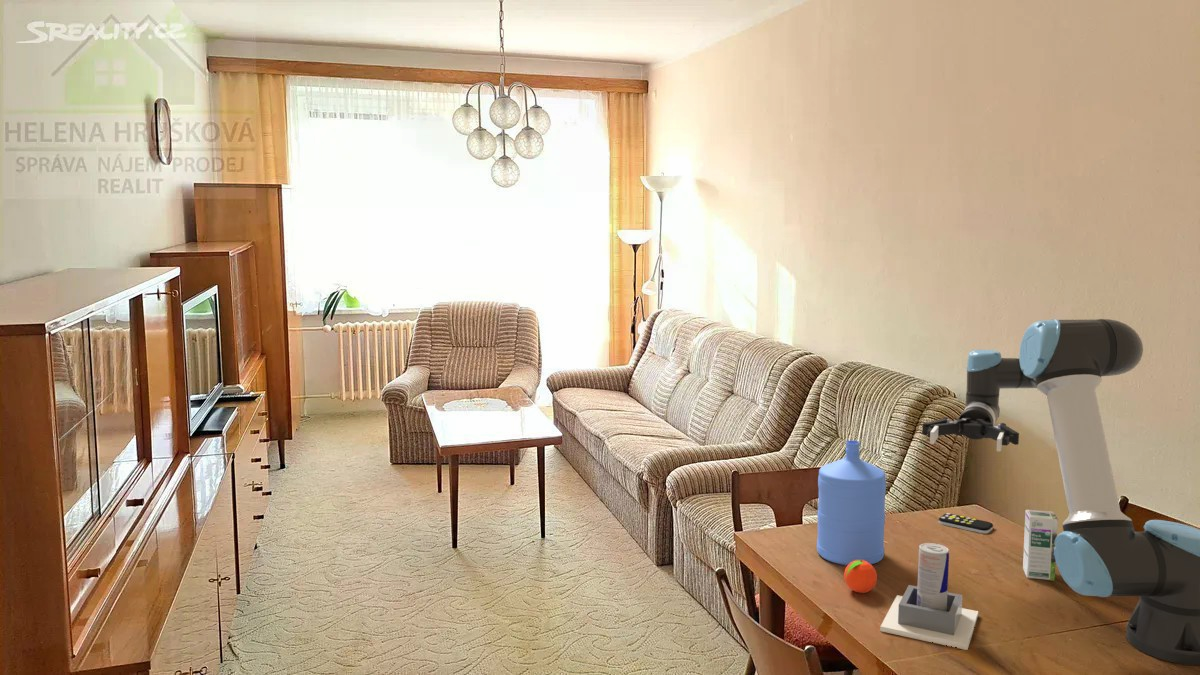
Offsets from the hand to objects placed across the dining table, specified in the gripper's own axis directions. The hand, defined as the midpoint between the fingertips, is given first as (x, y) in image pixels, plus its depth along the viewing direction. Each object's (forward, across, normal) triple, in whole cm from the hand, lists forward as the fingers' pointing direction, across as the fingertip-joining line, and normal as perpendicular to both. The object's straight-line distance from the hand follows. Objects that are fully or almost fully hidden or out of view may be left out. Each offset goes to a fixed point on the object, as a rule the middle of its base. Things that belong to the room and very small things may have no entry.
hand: (964, 441), depth 188 cm
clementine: (+16, +18, -32) cm, 40 cm away
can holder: (+24, +2, -32) cm, 40 cm away
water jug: (-4, +25, -32) cm, 41 cm away
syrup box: (-12, -15, -32) cm, 38 cm away
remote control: (-38, +3, -33) cm, 50 cm away
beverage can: (+24, +2, -31) cm, 40 cm away
